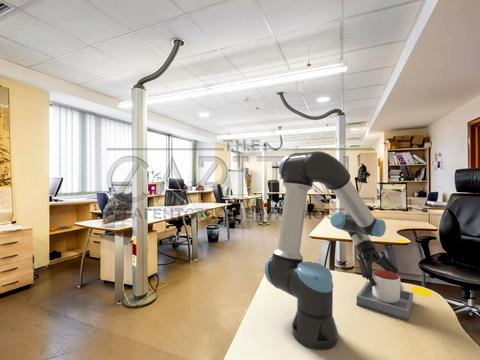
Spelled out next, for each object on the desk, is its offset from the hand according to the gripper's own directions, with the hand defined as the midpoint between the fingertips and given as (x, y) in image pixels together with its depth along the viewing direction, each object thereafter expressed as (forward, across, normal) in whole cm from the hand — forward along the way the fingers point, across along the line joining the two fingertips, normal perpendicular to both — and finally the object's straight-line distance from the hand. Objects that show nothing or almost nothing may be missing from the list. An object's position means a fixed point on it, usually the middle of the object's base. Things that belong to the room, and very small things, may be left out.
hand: (391, 291), depth 101 cm
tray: (+3, 0, -7) cm, 7 cm away
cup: (+1, 0, -5) cm, 5 cm away
